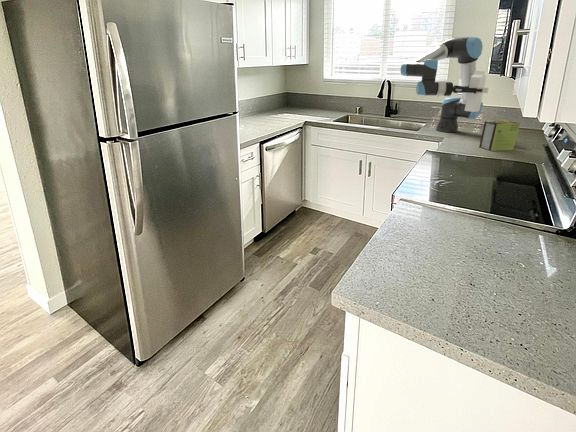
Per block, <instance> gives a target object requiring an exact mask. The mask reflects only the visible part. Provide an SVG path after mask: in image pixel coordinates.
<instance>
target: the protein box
mask: <svg viewBox="0 0 576 432" xmlns="http://www.w3.org/2000/svg"><path fill="white" fill-rule="evenodd" d="M520 125H521V123H520V122H516V121H511V120H507V119H506V120H486V121H484V124H483V127H482V128H483V129H482V133H481V137H480V140H479V141H480V142H479V148H481V149H484V150H487V151H490V152H491V151H492V152H497V151H499V152H500V151H514V148H515V144H516V141H517V138H518V137H517V136H518V132H519V130H520Z"/></svg>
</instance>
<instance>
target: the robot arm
mask: <svg viewBox="0 0 576 432" xmlns="http://www.w3.org/2000/svg"><path fill="white" fill-rule="evenodd" d="M483 46H484V45H483V42H482V40H481V38H479V37H477V36H476V37H475V36H470V37H468V36H467V37H465V36H464V37H451V38H449V39H446V40H445V41H442V42H440V43H439V44H437V45H436V46H434V48H433V49H432V50H430V51H428V52H426V53H424V54H423V55H422V56H419V57H417V58H416V59H414V60H412V61H411V62H409V61H408V62H403V63H402V64H401V66H400V74H401V75H402V76H404V77H405V76H406V77H419V78H421V80H420V81H418V82H417V84H416V88H415V93H416V95H417V96H436V97H439V96H444V97H445V96H446V98H444V99H443V100H442V105H441V110H440V111H441V112H440V117H439V121H438V122H437V124H436V126H435V131H438V132H444V133H457V132H459V124H458V123H459V122H458V118H464V119H469V120H475V119H477V118H478V117H479V116H480V115H481V113H482V110H483V107H484V103H483V101H481V105H480V110H479V111H477V112H470V111H464V110H465V105H466V100H467V95H468V93H474V94H476V93H483V94H488V93H489V87H484V88H469V85H470V80H471V77H472V76H473V75H474V72H475V71H477V70H476V69H477V67H476V65H477V61H478V60H479V58H480V57H481V55H482V51H483ZM447 58H449V59H450V58H453V59H457V63H458V64H459V65H460V77H461V78H460V80H461V81H460V82H461V83H460V84H461V85H454V84H453V82H451V81H446V82H445V81H436V78H437V73H438V64H439V61H440V60H441V61H443V60H445V59H447ZM452 93H454V94H461V97H460V96H458V97H450V96H451V95H452Z"/></svg>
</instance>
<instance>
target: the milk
mask: <svg viewBox="0 0 576 432" xmlns="http://www.w3.org/2000/svg"><path fill="white" fill-rule="evenodd" d="M485 72H486V71H482V70H476V71H475V72H474V75H473V76H472V77H471V80H470V85H469V88H485V85H486V80H487V76H486V74H485ZM483 96H484V93H476V94H474V93H468V95H467V100H466V105H465V110H464V111H470V112H477V111H479V110H480V105H481V102H482V100H483V99H482V98H483Z"/></svg>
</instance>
